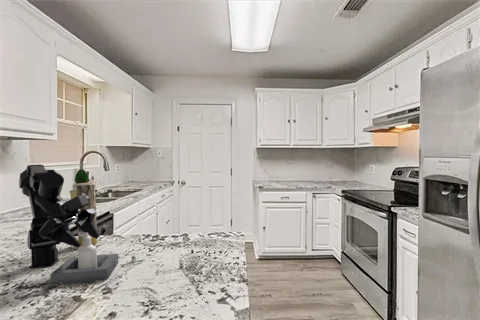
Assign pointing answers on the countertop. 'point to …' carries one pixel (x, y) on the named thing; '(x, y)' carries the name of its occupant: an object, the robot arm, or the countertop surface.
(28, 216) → the countertop surface
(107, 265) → the hollow square frame
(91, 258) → the eye dropper bottle
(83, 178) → the potted cactus
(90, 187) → the wooden log
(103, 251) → the countertop surface
